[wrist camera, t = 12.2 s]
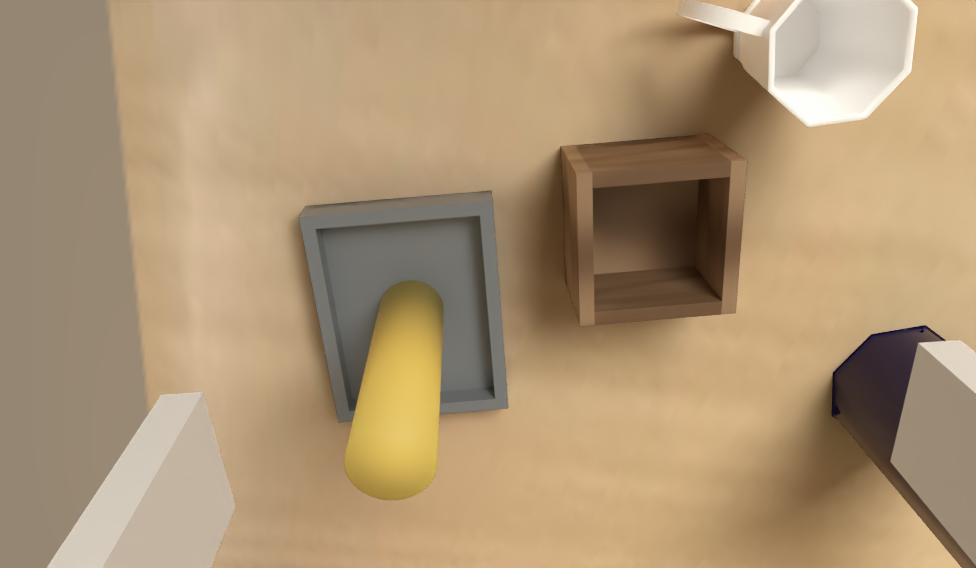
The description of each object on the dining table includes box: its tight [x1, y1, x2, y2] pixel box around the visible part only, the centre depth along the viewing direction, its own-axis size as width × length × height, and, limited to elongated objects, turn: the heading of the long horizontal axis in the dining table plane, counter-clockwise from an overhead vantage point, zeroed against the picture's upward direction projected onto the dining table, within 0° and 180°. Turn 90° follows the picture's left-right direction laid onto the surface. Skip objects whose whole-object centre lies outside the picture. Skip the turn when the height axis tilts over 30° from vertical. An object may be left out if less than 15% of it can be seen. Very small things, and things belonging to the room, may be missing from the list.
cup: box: [676, 0, 918, 127], centre depth 35 cm, size 7×10×8 cm
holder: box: [561, 134, 747, 326], centre depth 40 cm, size 9×9×6 cm
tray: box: [299, 191, 508, 422], centre depth 44 cm, size 14×11×2 cm
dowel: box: [344, 280, 444, 500], centre depth 38 cm, size 4×4×15 cm
